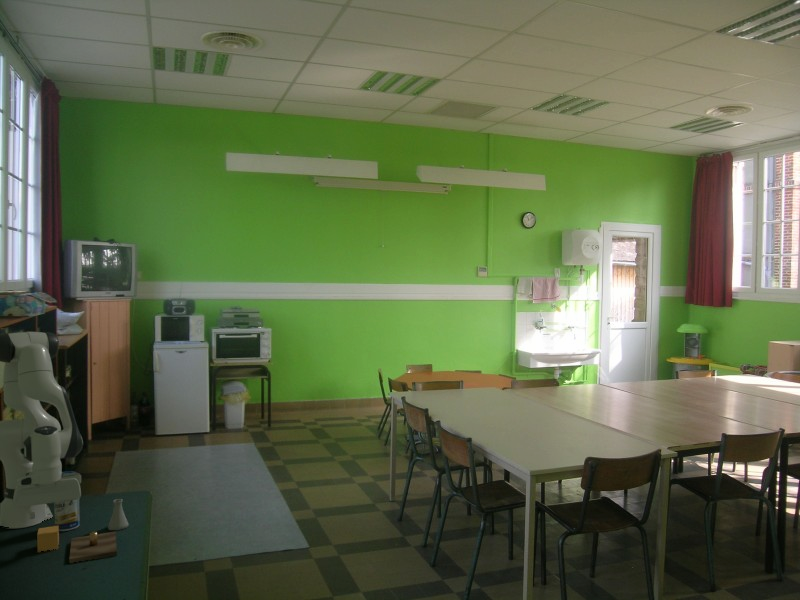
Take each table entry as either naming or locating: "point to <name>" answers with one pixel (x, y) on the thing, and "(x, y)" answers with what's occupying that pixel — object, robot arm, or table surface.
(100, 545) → the walnut post base
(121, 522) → the flask
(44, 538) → the mustard brick
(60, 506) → the beverage bottle
